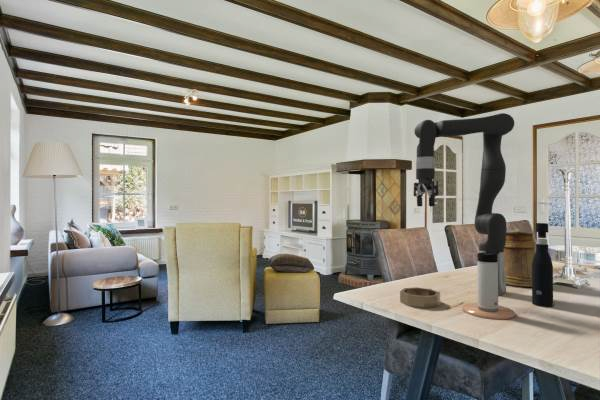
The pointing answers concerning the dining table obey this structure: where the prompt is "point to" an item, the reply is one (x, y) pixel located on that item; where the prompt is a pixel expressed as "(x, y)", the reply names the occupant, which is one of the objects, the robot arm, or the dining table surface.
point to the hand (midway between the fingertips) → (425, 206)
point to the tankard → (519, 257)
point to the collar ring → (420, 297)
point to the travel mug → (487, 281)
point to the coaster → (500, 314)
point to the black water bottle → (542, 270)
